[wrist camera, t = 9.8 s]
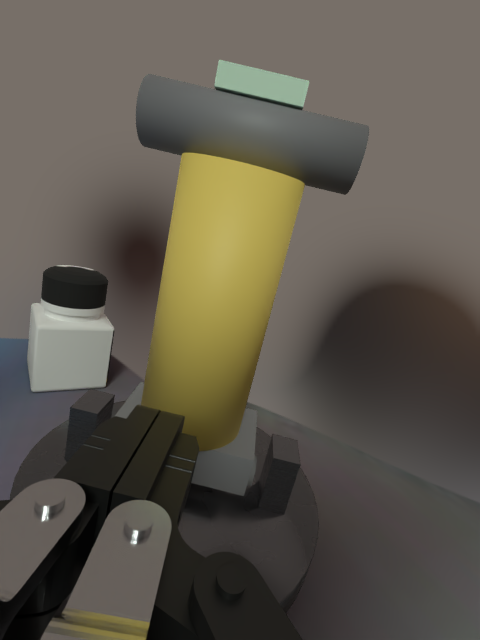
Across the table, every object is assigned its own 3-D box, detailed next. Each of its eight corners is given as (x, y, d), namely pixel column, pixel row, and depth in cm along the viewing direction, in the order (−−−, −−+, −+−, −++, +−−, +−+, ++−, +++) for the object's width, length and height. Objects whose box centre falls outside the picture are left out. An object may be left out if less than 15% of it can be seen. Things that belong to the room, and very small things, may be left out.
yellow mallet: (259, 453, 25) (357, 119, 19) (256, 524, 19) (396, 77, 13) (122, 419, 25) (173, 75, 19) (79, 480, 19) (131, 14, 13)
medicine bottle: (107, 388, 38) (122, 282, 35) (30, 394, 34) (40, 274, 31) (93, 360, 44) (105, 266, 41) (26, 362, 40) (34, 257, 37)
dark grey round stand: (289, 471, 32) (314, 393, 30) (316, 759, 15) (380, 620, 13) (98, 423, 32) (109, 342, 30) (-98, 651, 15) (-104, 497, 13)
